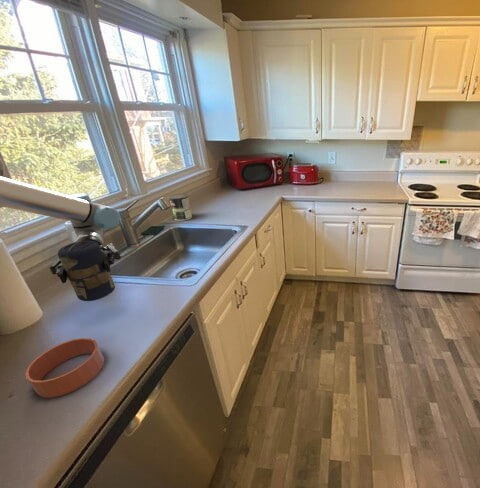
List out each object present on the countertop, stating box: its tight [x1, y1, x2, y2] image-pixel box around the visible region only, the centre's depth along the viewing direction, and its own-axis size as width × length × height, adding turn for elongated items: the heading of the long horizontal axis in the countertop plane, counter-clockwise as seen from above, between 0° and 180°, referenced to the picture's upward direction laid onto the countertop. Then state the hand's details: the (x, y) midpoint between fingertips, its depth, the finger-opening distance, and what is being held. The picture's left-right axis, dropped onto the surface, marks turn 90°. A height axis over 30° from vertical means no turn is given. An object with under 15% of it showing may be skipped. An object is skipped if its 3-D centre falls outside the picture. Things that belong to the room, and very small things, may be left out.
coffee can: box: [168, 193, 193, 222], centre depth 171 cm, size 10×10×14 cm
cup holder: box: [25, 337, 105, 398], centre depth 70 cm, size 13×13×6 cm
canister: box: [57, 241, 116, 302], centre depth 84 cm, size 10×10×18 cm
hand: (85, 273), depth 80 cm, fingers closed on canister, 9 cm apart
